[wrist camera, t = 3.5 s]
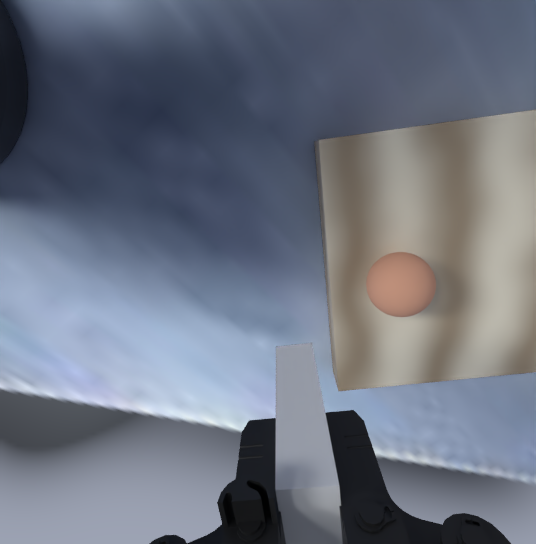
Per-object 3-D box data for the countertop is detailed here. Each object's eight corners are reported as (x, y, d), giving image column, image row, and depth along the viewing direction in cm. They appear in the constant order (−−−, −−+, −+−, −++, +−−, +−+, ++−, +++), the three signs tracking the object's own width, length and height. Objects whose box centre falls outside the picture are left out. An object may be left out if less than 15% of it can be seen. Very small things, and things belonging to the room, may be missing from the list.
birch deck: (333, 371, 28) (338, 391, 26) (314, 141, 23) (318, 139, 20) (638, 341, 27) (673, 358, 25) (698, 87, 21) (751, 79, 19)
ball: (360, 304, 24) (377, 332, 20) (358, 248, 22) (375, 267, 19) (419, 297, 23) (447, 325, 20) (420, 241, 22) (450, 258, 18)
